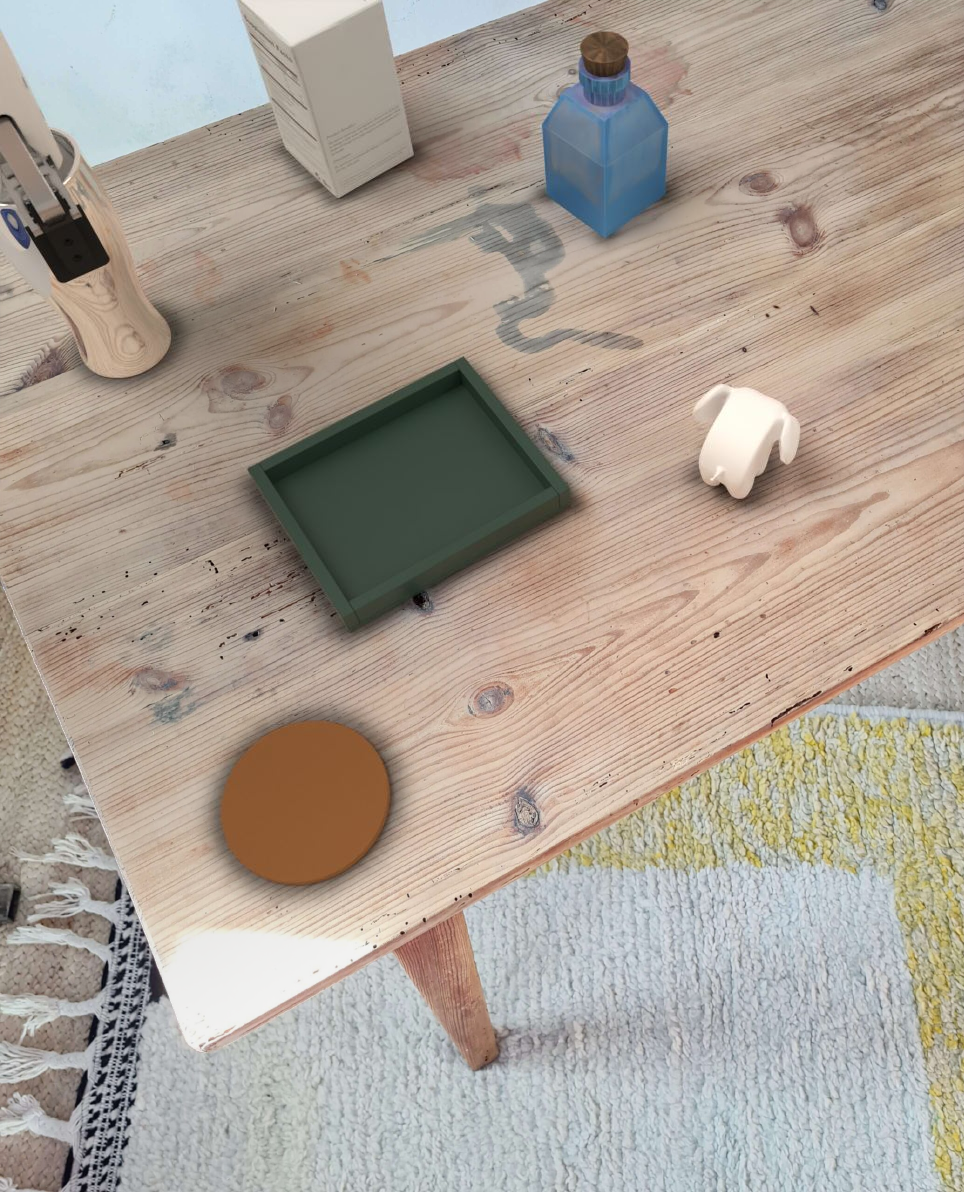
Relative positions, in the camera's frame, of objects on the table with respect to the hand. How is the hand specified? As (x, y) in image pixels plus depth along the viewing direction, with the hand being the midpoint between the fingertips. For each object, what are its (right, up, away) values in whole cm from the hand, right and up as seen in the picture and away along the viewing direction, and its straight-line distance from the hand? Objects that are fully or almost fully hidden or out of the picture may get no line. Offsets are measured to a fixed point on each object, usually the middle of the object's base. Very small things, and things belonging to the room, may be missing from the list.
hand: (59, 229), depth 65 cm
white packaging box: (+13, +12, +18) cm, 25 cm away
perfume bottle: (+33, +8, +15) cm, 37 cm away
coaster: (+17, -33, -6) cm, 38 cm away
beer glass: (0, -5, +9) cm, 10 cm away
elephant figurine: (+41, -14, +4) cm, 44 cm away
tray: (+21, -16, +3) cm, 26 cm away
